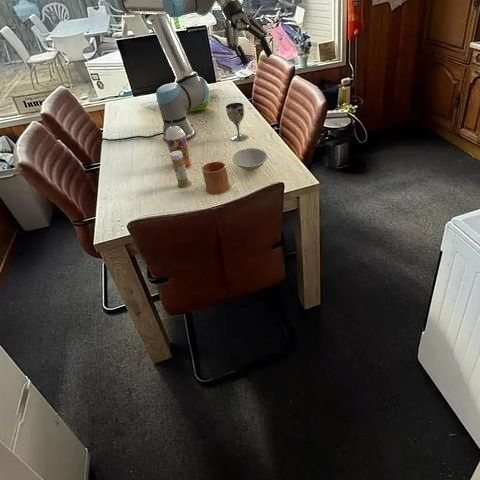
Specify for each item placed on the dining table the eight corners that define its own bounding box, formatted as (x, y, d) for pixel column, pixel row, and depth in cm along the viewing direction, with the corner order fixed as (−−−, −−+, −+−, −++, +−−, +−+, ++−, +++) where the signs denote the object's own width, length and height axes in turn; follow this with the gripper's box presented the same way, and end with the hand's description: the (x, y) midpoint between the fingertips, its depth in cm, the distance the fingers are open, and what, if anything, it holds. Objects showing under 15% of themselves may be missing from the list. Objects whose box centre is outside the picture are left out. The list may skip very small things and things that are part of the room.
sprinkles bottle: (177, 184, 155) (168, 152, 146) (187, 180, 156) (179, 149, 147) (180, 188, 152) (171, 156, 143) (191, 185, 153) (183, 153, 144)
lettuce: (181, 114, 232) (207, 113, 236) (184, 111, 210) (213, 109, 214) (178, 87, 227) (204, 86, 231) (180, 81, 205) (210, 80, 209)
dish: (231, 162, 166) (229, 151, 162) (264, 156, 167) (263, 145, 164) (237, 181, 152) (235, 169, 149) (272, 174, 154) (271, 163, 151)
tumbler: (203, 193, 147) (198, 172, 141) (211, 182, 153) (206, 161, 147) (225, 194, 145) (221, 172, 139) (232, 183, 152) (228, 161, 146)
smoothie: (183, 172, 162) (171, 124, 149) (169, 168, 166) (156, 122, 153) (196, 163, 168) (185, 117, 154) (182, 160, 171) (170, 114, 158)
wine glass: (245, 141, 181) (240, 108, 171) (229, 141, 183) (223, 108, 173) (249, 134, 187) (245, 102, 177) (233, 134, 189) (228, 102, 179)
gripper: (209, 4, 136) (240, 62, 141) (257, -7, 149) (284, 46, 154) (201, 18, 142) (231, 73, 147) (247, 6, 155) (274, 57, 160)
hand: (258, 59), depth 151 cm, fingers open, 13 cm apart
